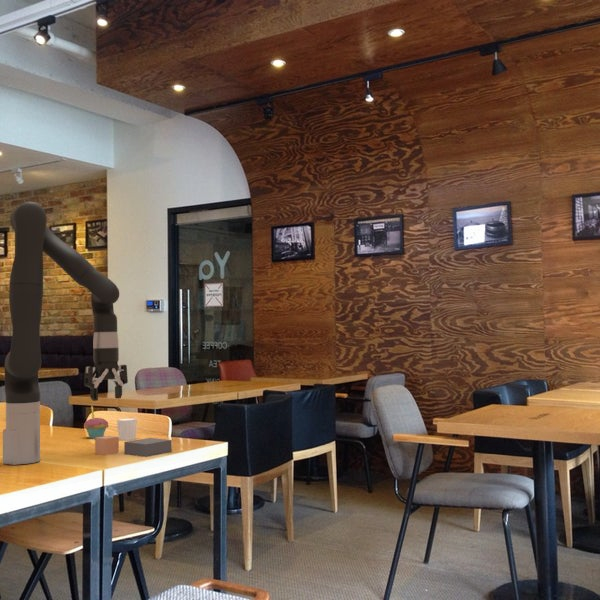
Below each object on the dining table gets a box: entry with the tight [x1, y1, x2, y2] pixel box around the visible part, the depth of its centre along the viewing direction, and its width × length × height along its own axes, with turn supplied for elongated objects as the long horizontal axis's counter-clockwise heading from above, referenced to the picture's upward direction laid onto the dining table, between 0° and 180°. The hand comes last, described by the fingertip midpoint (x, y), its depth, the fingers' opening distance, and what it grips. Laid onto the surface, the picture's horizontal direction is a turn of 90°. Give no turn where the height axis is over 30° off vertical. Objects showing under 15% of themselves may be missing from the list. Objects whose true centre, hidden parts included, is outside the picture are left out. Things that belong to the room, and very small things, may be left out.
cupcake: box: [83, 404, 109, 440], centre depth 249 cm, size 9×8×12 cm
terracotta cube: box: [94, 435, 120, 456], centre depth 212 cm, size 5×5×5 cm
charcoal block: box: [123, 437, 173, 458], centre depth 211 cm, size 10×10×4 cm
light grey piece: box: [116, 417, 138, 441], centre depth 243 cm, size 7×7×7 cm
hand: (106, 399), depth 213 cm, fingers open, 8 cm apart
